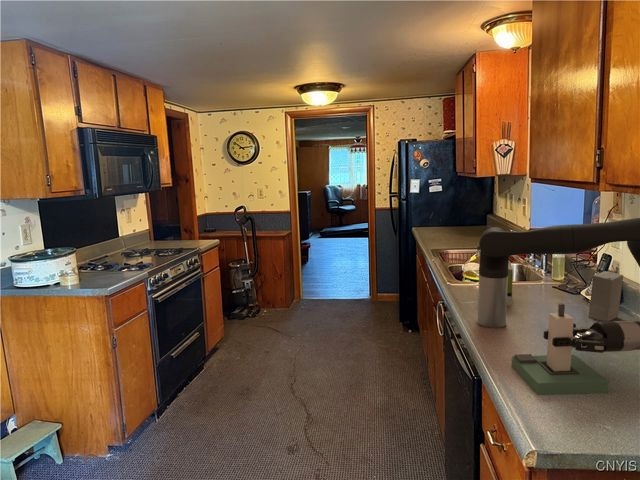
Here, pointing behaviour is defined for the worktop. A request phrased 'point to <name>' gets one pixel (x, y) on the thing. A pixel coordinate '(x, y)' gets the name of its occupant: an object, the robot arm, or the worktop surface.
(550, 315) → the plug
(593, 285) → the skincare box
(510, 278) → the tea box
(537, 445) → the worktop surface
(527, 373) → the green square socket base
